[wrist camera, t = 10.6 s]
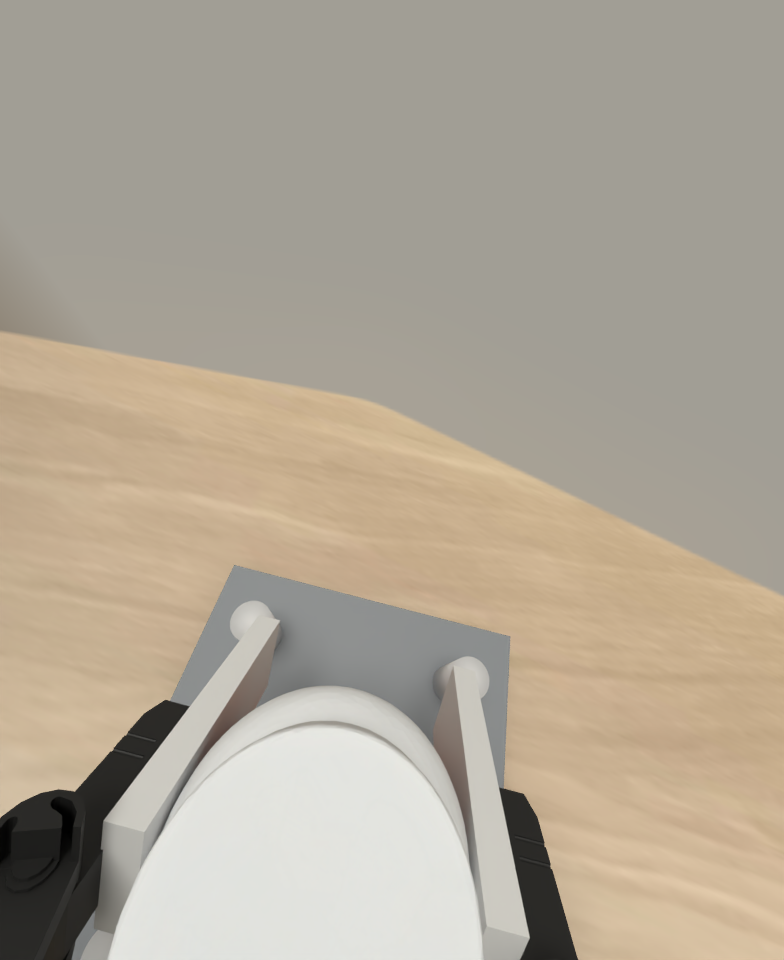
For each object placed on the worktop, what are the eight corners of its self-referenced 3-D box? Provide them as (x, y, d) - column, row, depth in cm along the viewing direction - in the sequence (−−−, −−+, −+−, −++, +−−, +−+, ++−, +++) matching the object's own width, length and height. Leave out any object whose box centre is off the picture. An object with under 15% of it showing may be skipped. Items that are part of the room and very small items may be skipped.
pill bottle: (348, 662, 16) (361, 592, 7) (443, 805, 14) (643, 976, 5) (210, 778, 14) (-63, 908, 4) (299, 973, 12) (134, 2030, 2)
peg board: (48, 988, 13) (-84, 1112, 9) (239, 572, 21) (215, 538, 17) (475, 1109, 13) (538, 1293, 9) (501, 640, 21) (540, 623, 17)
